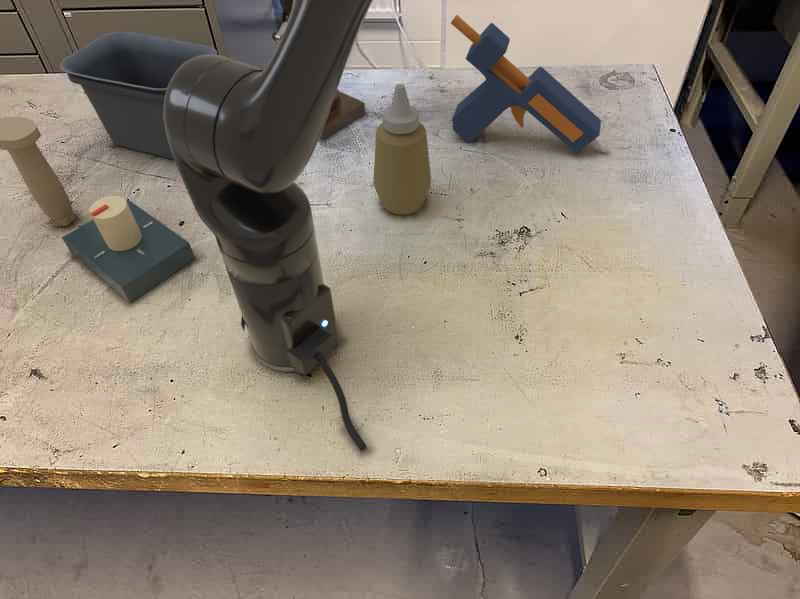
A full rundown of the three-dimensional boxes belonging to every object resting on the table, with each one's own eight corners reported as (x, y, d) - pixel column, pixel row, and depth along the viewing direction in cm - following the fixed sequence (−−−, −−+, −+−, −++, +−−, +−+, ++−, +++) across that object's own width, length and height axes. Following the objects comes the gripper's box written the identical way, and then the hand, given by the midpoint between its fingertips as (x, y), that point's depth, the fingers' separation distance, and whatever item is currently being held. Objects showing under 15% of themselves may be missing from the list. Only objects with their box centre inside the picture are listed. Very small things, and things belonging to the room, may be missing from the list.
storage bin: (89, 151, 96) (47, 66, 85) (150, 103, 105) (119, 21, 95) (199, 180, 90) (170, 93, 80) (253, 126, 100) (233, 42, 89)
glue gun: (546, 204, 100) (619, 150, 90) (398, 96, 90) (460, 20, 79) (547, 180, 104) (617, 125, 93) (405, 74, 94) (465, -1, 83)
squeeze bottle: (365, 195, 87) (355, 79, 73) (414, 179, 89) (413, 64, 76) (390, 228, 82) (384, 110, 69) (441, 209, 84) (445, 92, 71)
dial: (129, 223, 79) (112, 189, 75) (149, 237, 77) (133, 202, 73) (100, 241, 77) (81, 207, 73) (119, 256, 75) (101, 221, 71)
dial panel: (195, 259, 79) (188, 241, 77) (130, 303, 74) (120, 286, 72) (135, 215, 85) (127, 198, 83) (71, 253, 80) (60, 236, 78)
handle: (68, 237, 82) (12, 144, 71) (35, 224, 84) (-24, 132, 73) (94, 216, 85) (44, 124, 74) (62, 204, 87) (9, 112, 76)
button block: (365, 114, 101) (363, 92, 98) (323, 140, 96) (320, 118, 93) (316, 91, 107) (313, 70, 104) (274, 115, 102) (269, 94, 99)
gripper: (314, -57, 89) (327, 56, 102) (245, -29, 82) (269, 88, 95) (351, -46, 85) (360, 69, 98) (282, -16, 79) (301, 103, 92)
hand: (315, 78), depth 97 cm, fingers closed
